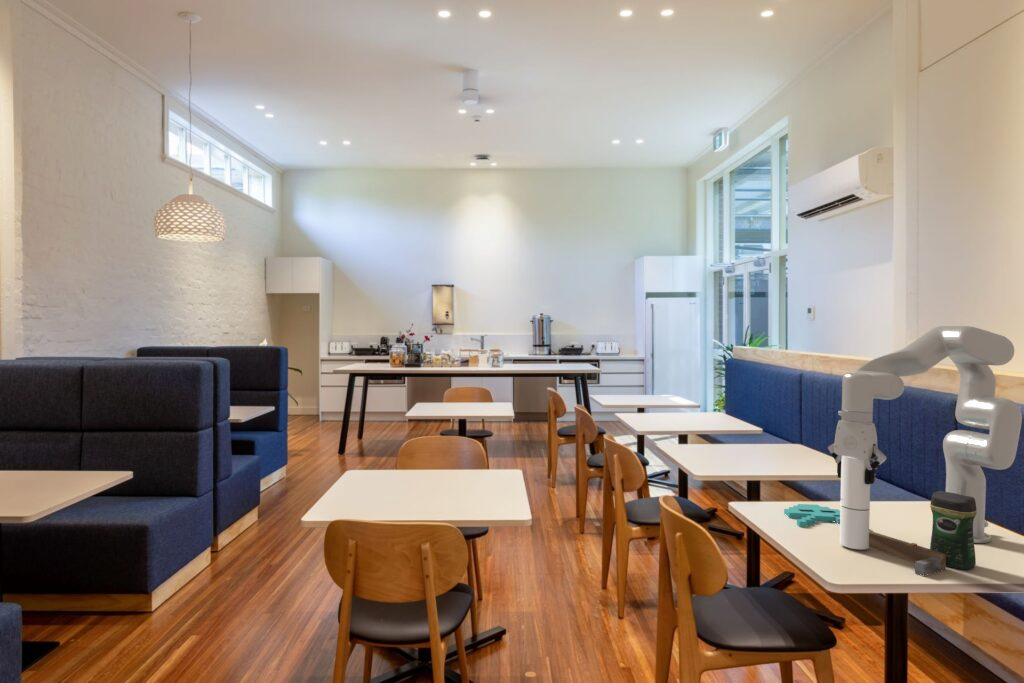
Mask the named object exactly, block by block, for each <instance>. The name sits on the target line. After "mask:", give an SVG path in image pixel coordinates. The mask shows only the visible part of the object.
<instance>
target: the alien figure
mask: <svg viewBox="0 0 1024 683" xmlns="http://www.w3.org/2000/svg"><path fill="white" fill-rule="evenodd" d="M783 511H784V512H783V514H784V515H785V514H786V515H787V516H788V517H790V518H789V519H796V518H801V519H796V526H797V527H799V528H808V526H813V525H812V524H815V523H816V524H817V521H835V522H836V523H835V522H834V523H835V524H837V523H838V524H840V509H838V508H830V507H828V506H820V505H819V504H813V503H812V504H811V503H810V504H807V503H797V505H793V506H792V507H791V506H789V507H788V508H784V509H783ZM786 515H785V516H786ZM787 516H786V517H787ZM788 517H787V518H788ZM838 524H837V525H838Z"/></svg>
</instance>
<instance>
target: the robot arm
mask: <svg viewBox="0 0 1024 683" xmlns="http://www.w3.org/2000/svg"><path fill="white" fill-rule="evenodd" d="M1014 355H1015V346H1014V344H1013V342H1012V341H1011V340H1010V339H1009V338H1007V337H1006V336H1005V335H1001V334H998V333H995V332H991V331H989V330H987V329H986V330H985V329H981V328H979V327H975V326H969V325H942V326H936V327H933V328H931V329H930V330H928V331H927V332H926V333H924V334H922V335H921V336H919V337H918V338H917V339H915V340H914V341H912V342H911V343H910V344H909V345H907V346H905V347H904V348H901V349H899V350H895V351H893V352H890V353H887V354H885V355H882V356H879V357H876V358H874V359H870V361H867V362H866V363H865V364H863V365H862V366H860V367H858V368H857V369H856V370H855V371H854V372H847V373H844V374H843V376H842V380H841V381H842V382H841V383H842V389H841V410H838V412H837V415H838V416H840V418H841V419H839V420H838V421H837V424H836V429H835V434H834V436H835V437H834V442H833V443H832V444H830V445H828V446H827V449H828V451H829V453H830V454H831V456H832V458H833V459H834V460H835V463H836V465H837V466H836V473H837V478H840V479H841V456H847V457H852V458H857V459H859V460H864V461H865V465H866V467H867V469H866V470H865V484H870V485H872V484H875V480H876V470H877V469H878V468H880V466H882V464H883V463H885V461H886V460H887V456H886V455H885V453H883V452H882V451H881V450H880V449H879V448H878V434H877V428H876V426H875V423H874V422H873V421H874V420H873V418H874V417H873V416H874V413H873V412H874V399H880V400H886V401H888V400H889V401H890V400H895V399H897V398H899V397H900V396H901V395H902V394H903V393H904V390H905V383H904V380H903V379H902V378H903V377H911V376H916V375H919V374H920V375H921V374H923V373H926V372H928V371H929V370H930V369H932V368H933V367H935V366H936V365H938V364H939V363H940V362H942V361H943V360H944V359H946V358H947V357H949V359H950V360H951V361H952V363H953V364H954V365H955V367H956V368H957V370H958V374H959V376H960V381H959V389H958V393H957V394H958V395H957V398H956V399H957V400H956V405H955V410H954V414H955V419H956V421H957V422H958V423H960V424H962V425H963V426H966V427H972V428H977V429H983V430H989V434H988V433H984V432H977V431H971V430H967V429H966V430H965V429H957V430H952V431H950V432H948V433H947V434H946V435H944V438H943V441H942V449H943V450H942V451H943V455H944V460H945V473H946V475H945V492H950V493H956V494H960V495H965V496H970V497H973V498H974V499H975V502H976V509H977V514H976V516H975V517H974V520H973V538H974V544H986V543H990V542H991V540H992V536H991V535H989V534H988V533H986V532H985V528H988V527H989V522H988V521H986V519H985V518H986V516H985V515H986V497H987V496H986V494H987V492H986V490H987V478H986V476H985V473H984V471H983V469H982V467H983V468H987V469H991V470H998V471H999V470H1000V471H1001V470H1006V469H1009V468H1010V467H1011V466H1012V465H1013V463H1014V461H1015V459H1016V455H1017V450H1018V445H1019V440H1020V434H1021V429H1022V422H1023V417H1022V416H1023V415H1022V410H1021V408H1020V406H1019V405H1018V404H1017V403H1016V402H1015V401H1014V400H1011V399H1009V398H1005V397H1003V398H1002V397H996V396H995V394H996V386H997V378H996V375H995V374H994V372H993V370H992V368H991V367H990V366H996V367H997V366H1004V365H1006V364H1008V363H1009V362H1010V361H1012V359H1013V358H1014ZM876 458H877V459H876ZM875 459H876V460H875ZM869 460H870V461H869Z"/></svg>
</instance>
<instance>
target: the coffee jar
mask: <svg viewBox="0 0 1024 683" xmlns="http://www.w3.org/2000/svg"><path fill="white" fill-rule="evenodd" d="M929 507H930V510H931V513H932V528H931V537H930V543H929V549H931V550H934V551H938V552H941V553H944V554H946V567H949V568H953V567H954V568H953V569H960V570H971V569H974V568H975V567H976V565H977V564H976V562H977V561H976V549H975V543H974V538H973V520H974V517H975V516H976V514H977V509H976V502H975V499H974V498H973V497H970V496H965V495H960V494H956V493H950V492H946V491H943V490H938V491H935V492H933V493H932V495H931V498H930V504H929Z"/></svg>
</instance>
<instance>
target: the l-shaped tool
mask: <svg viewBox="0 0 1024 683" xmlns="http://www.w3.org/2000/svg"><path fill="white" fill-rule="evenodd" d="M870 547H871V548H870ZM869 548H870V549H873V548H874V550H876V549H877V550H876V551H879V550H880V552H882V551H883V552H882V553H886V554H888V553H889V555H891V556H895V557H897V556H898V558H901V559H904V560H907V561H909V562H912V563H914V564H915V565H914V574H915V573H918V574H921V575H927V574H930V573H933V574H935V573H934V572H936V573H938V572H937V571H939V572H942V571H944V570H946V568H947V566H946V554H944V553H941V552H938V551H934V550H931V549H930V548H927V547H924V546H921V545H918V543H915V542H912V543H911V542H909V541H904V540H901V539H898V538H894V537H891V536H888V535H884V534H881V533H879V532H875V531H872V530H869ZM941 570H942V571H941ZM918 574H917V575H918ZM921 575H920V576H921ZM930 575H931V574H930ZM927 576H928V575H927Z"/></svg>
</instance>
